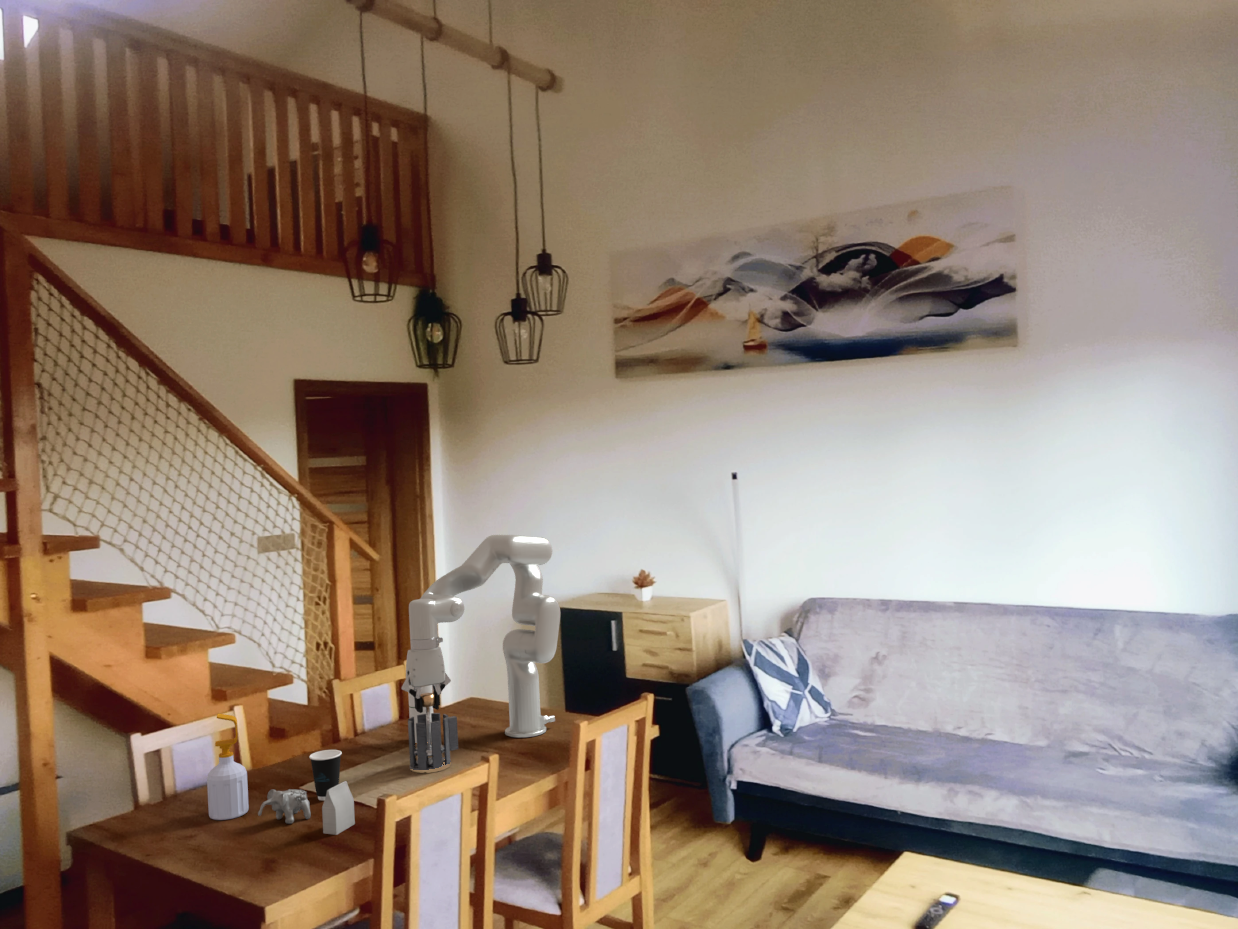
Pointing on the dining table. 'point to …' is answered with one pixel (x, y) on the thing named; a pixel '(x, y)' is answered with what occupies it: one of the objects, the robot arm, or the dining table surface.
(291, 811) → the gray elephant figurine
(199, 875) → the dining table surface
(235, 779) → the soap bottle
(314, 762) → the dixie cup
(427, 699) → the plunger
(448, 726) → the frame
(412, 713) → the cylindrical container
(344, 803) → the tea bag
